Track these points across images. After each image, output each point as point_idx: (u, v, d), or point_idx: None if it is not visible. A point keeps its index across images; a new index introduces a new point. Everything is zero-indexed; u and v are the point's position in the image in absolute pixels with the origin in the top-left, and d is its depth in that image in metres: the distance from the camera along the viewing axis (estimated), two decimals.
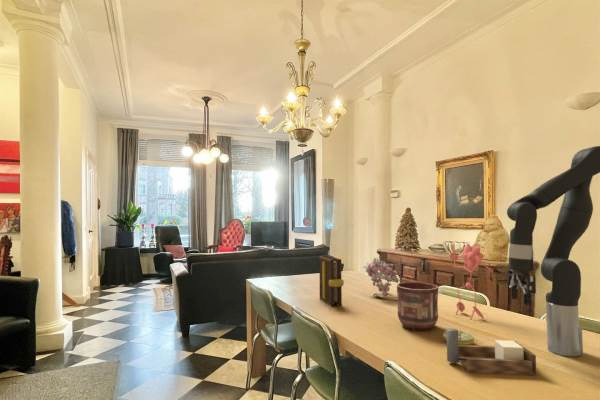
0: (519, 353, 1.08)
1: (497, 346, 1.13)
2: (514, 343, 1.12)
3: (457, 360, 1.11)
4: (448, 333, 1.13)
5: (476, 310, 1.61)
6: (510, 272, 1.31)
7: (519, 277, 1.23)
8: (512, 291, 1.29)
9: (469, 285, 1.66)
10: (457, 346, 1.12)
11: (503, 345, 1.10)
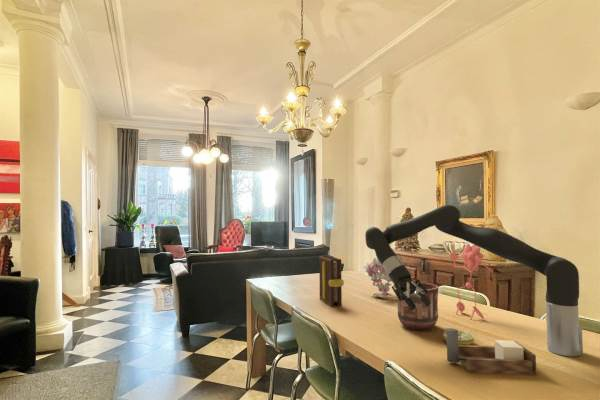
0: (519, 353, 1.08)
1: (497, 346, 1.13)
2: (514, 343, 1.12)
3: (457, 360, 1.11)
4: (448, 333, 1.13)
5: (476, 310, 1.61)
6: None
7: None
8: None
9: (469, 285, 1.66)
10: (457, 346, 1.12)
11: (503, 345, 1.10)
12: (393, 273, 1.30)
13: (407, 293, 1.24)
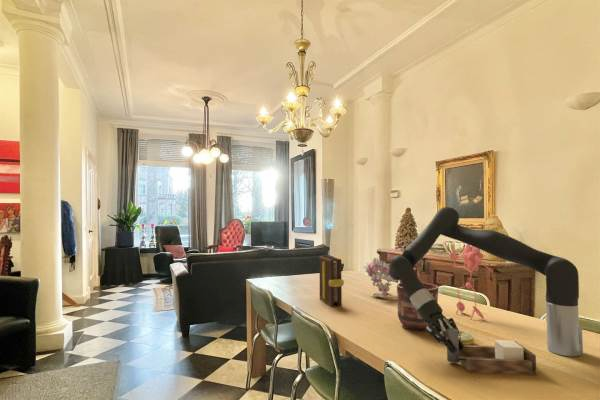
0: (519, 353, 1.08)
1: (497, 346, 1.13)
2: (514, 343, 1.12)
3: (457, 360, 1.11)
4: (448, 333, 1.13)
5: (476, 310, 1.61)
6: None
7: None
8: None
9: (469, 285, 1.66)
10: (457, 346, 1.12)
11: (503, 345, 1.10)
12: (423, 309, 1.19)
13: (445, 334, 1.13)
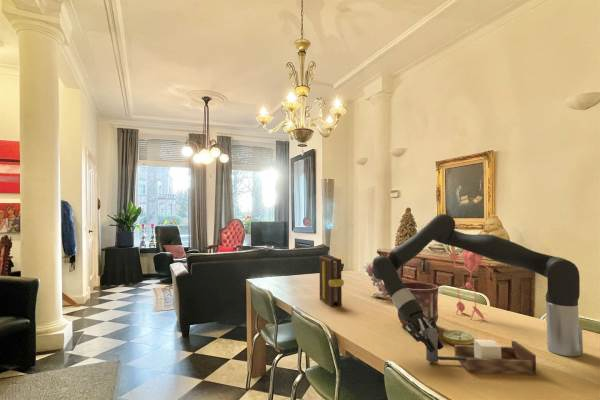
0: (497, 352, 1.09)
1: (476, 346, 1.14)
2: (493, 342, 1.12)
3: (436, 359, 1.12)
4: (427, 332, 1.13)
5: (476, 310, 1.61)
6: None
7: None
8: None
9: (469, 285, 1.66)
10: (436, 345, 1.12)
11: (482, 344, 1.11)
12: (403, 308, 1.19)
13: (424, 333, 1.14)
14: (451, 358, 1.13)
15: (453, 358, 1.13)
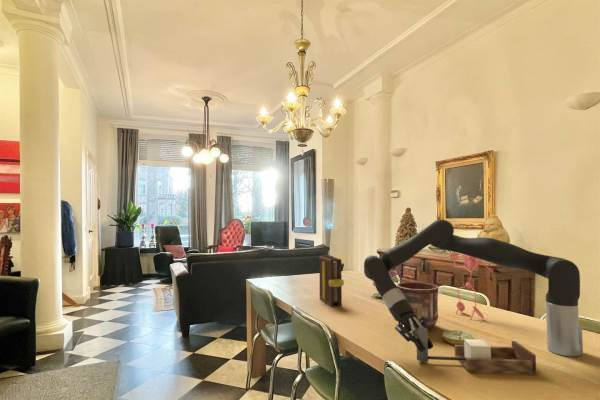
0: (487, 352, 1.09)
1: (466, 345, 1.14)
2: (482, 342, 1.13)
3: (426, 359, 1.12)
4: (417, 332, 1.14)
5: (476, 310, 1.61)
6: None
7: None
8: None
9: (469, 285, 1.66)
10: (426, 345, 1.13)
11: (472, 344, 1.11)
12: (394, 308, 1.20)
13: (414, 333, 1.14)
14: (441, 358, 1.13)
15: (443, 358, 1.13)
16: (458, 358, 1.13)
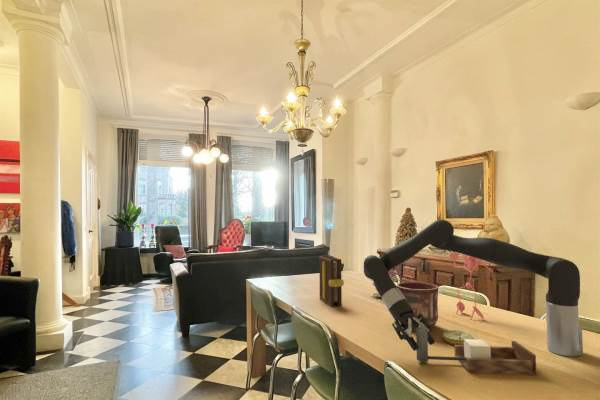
0: (486, 351, 1.09)
1: (466, 345, 1.14)
2: (482, 342, 1.13)
3: (426, 359, 1.12)
4: (417, 332, 1.14)
5: (476, 310, 1.61)
6: None
7: None
8: None
9: (469, 285, 1.66)
10: (426, 345, 1.13)
11: (471, 344, 1.11)
12: (393, 308, 1.20)
13: (409, 331, 1.14)
14: (441, 358, 1.13)
15: (443, 358, 1.13)
16: (458, 358, 1.13)
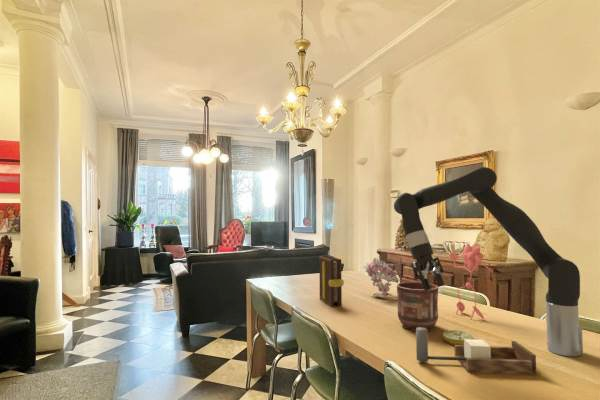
0: (486, 351, 1.09)
1: (466, 345, 1.14)
2: (482, 342, 1.13)
3: (426, 359, 1.12)
4: (417, 332, 1.14)
5: (476, 310, 1.61)
6: None
7: None
8: None
9: (469, 285, 1.66)
10: (426, 345, 1.13)
11: (471, 344, 1.11)
12: (416, 249, 1.25)
13: (425, 273, 1.21)
14: (441, 358, 1.13)
15: (443, 358, 1.13)
16: (458, 358, 1.13)
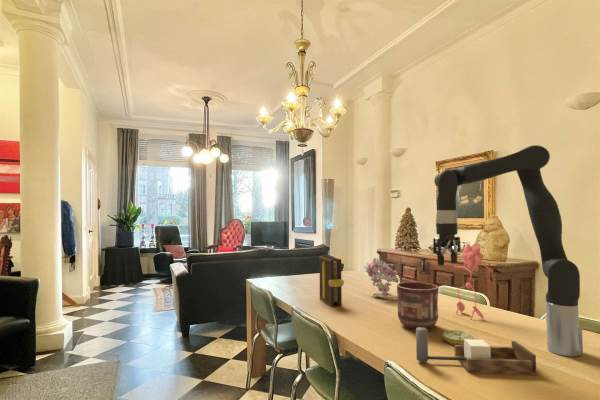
0: (486, 351, 1.09)
1: (466, 345, 1.14)
2: (482, 342, 1.13)
3: (426, 359, 1.12)
4: (417, 332, 1.14)
5: (476, 310, 1.61)
6: None
7: None
8: None
9: (469, 285, 1.66)
10: (426, 345, 1.13)
11: (471, 344, 1.11)
12: (442, 226, 1.30)
13: (443, 251, 1.29)
14: (441, 358, 1.13)
15: (443, 358, 1.13)
16: (458, 358, 1.13)
